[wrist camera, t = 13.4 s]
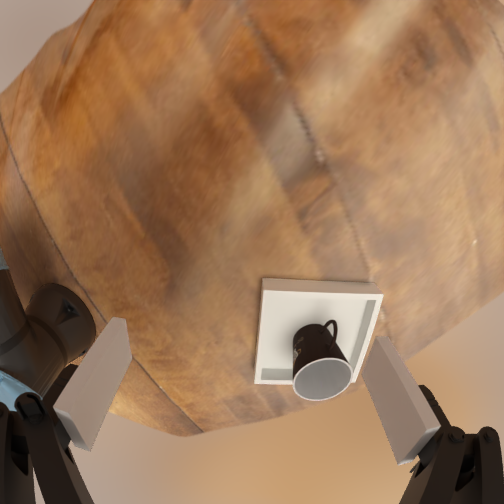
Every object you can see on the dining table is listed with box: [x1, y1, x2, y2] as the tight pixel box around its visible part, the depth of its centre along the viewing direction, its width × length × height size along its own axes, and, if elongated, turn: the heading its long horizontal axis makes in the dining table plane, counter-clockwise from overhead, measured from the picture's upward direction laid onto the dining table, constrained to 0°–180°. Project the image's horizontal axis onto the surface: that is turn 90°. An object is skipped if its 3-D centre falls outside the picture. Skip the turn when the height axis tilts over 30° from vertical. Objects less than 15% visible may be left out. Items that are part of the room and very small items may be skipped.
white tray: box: [254, 278, 384, 384], centre depth 45 cm, size 18×18×4 cm
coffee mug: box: [293, 320, 353, 401], centre depth 41 cm, size 12×9×10 cm
